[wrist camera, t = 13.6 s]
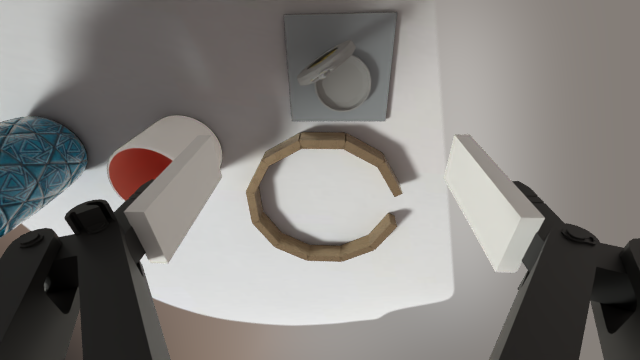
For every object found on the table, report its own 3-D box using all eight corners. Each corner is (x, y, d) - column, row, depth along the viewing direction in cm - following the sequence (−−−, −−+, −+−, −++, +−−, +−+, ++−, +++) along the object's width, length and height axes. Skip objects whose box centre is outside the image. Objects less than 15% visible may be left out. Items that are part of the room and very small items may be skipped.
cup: (215, 110, 38) (180, 144, 30) (232, 175, 43) (206, 218, 35) (143, 113, 39) (89, 146, 30) (168, 176, 44) (128, 219, 36)
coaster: (284, 14, 31) (283, 14, 31) (396, 12, 31) (397, 12, 30) (292, 119, 38) (291, 121, 37) (384, 119, 37) (385, 121, 37)
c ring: (241, 131, 39) (235, 139, 37) (407, 132, 38) (411, 140, 36) (262, 248, 52) (259, 259, 49) (388, 251, 50) (391, 263, 48)
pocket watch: (354, 117, 37) (358, 154, 28) (293, 89, 35) (278, 120, 27) (388, 54, 32) (404, 76, 24) (320, 20, 31) (312, 30, 23)
